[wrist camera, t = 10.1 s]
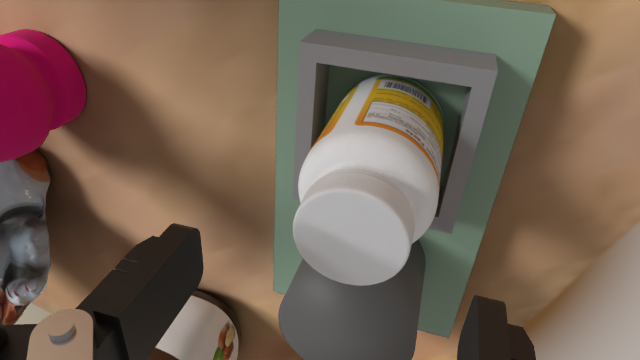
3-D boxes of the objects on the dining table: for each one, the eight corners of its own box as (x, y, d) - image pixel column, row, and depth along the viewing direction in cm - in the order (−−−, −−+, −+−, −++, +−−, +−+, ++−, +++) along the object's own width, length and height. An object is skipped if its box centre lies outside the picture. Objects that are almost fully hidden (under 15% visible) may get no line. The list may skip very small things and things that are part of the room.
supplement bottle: (359, 180, 25) (309, 309, 17) (322, 91, 23) (245, 190, 15) (458, 157, 23) (453, 294, 15) (427, 56, 21) (402, 151, 13)
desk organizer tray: (293, -25, 23) (219, 3, 16) (549, 6, 20) (587, 54, 14) (283, 272, 33) (236, 363, 27) (450, 315, 31) (444, 426, 24)
